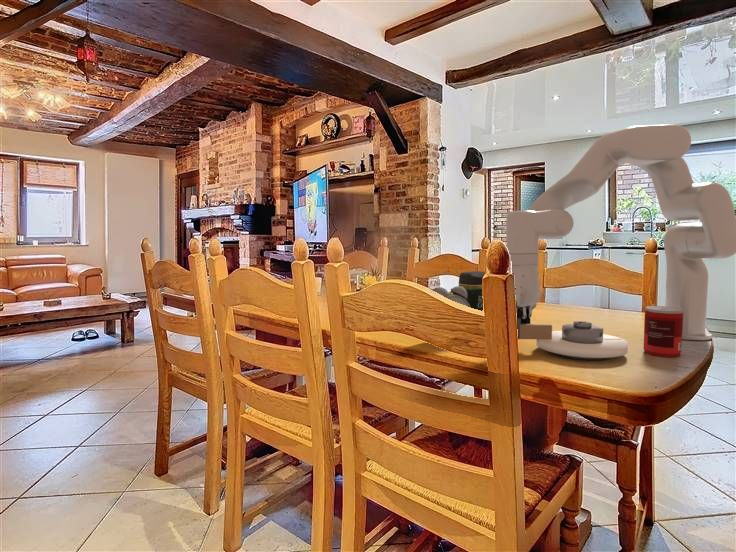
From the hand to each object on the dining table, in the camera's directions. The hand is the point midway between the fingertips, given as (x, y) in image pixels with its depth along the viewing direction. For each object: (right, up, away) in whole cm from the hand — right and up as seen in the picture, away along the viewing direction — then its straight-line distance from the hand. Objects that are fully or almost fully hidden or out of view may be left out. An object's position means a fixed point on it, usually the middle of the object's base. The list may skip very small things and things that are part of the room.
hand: (523, 333), depth 114 cm
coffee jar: (-8, -3, +18) cm, 20 cm away
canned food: (+32, -4, -5) cm, 32 cm away
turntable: (+9, -3, -4) cm, 10 cm away
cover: (+13, -1, -5) cm, 14 cm away
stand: (+13, -4, -4) cm, 14 cm away
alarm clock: (-17, -4, +11) cm, 21 cm away
